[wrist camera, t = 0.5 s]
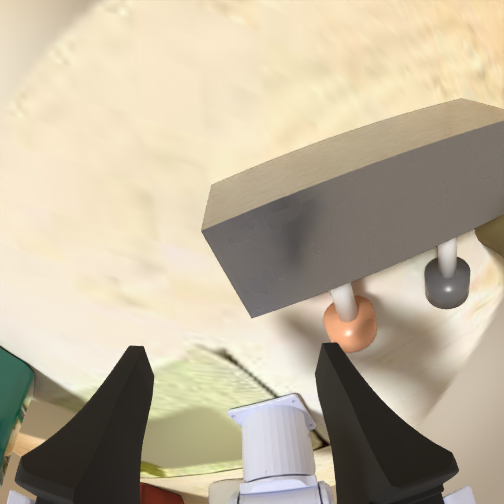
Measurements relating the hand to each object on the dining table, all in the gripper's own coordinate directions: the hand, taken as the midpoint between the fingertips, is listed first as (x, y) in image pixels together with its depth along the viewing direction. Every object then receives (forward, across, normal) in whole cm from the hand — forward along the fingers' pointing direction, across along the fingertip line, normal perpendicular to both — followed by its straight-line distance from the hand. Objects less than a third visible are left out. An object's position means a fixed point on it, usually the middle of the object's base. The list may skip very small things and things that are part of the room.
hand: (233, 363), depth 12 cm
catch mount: (+10, -8, -5) cm, 14 cm away
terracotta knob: (+9, -7, +2) cm, 11 cm away
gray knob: (+9, -14, -1) cm, 17 cm away
